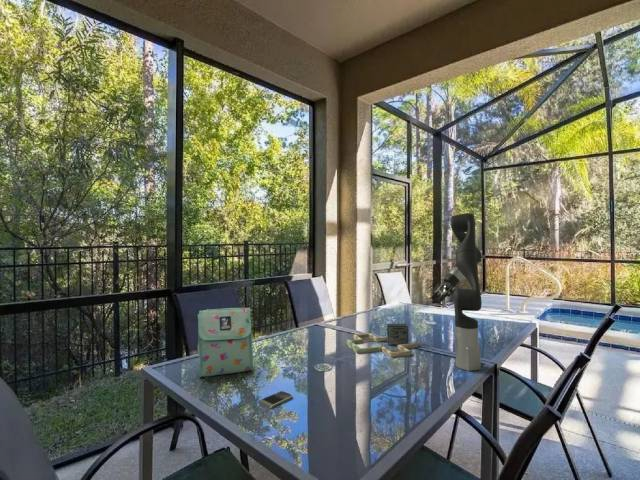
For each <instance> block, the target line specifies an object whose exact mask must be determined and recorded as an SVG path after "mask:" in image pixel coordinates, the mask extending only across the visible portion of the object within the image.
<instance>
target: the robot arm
mask: <svg viewBox="0 0 640 480" xmlns="http://www.w3.org/2000/svg"><path fill="white" fill-rule="evenodd" d="M475 219H476V218H475V216H474V214H473V213H472V212H471V213H470V212H469V213H467V212H466V213H460V214H456V215H452V216H451V217H450V221H449V223H450V227H451V230H452V233H453V234H454V236H455V238H456V240H458V242H459V243H460V244H459V246H458V247H457V248H456V250H455V265H454V266H453V267H452V268H451V269H450V270H449V271H448V272H447V274H446V275H445V276H444V278H443V282H442V283H439V282H438V283H437V284H436V286H435V287H434V289H432V291H433V294H432V295H431V296H430V299H431V300H432V301H434V300H435V299H436V298H437V297H438V296H439V295H440V294H441V295H440V296H439V297H438V299H437V300H438V302H440V303H442V302H443V301H444V300H445V298H447V297H449V298H450V297H451V296H452V294H453V306H454V309H453V310H454V335H455V336H454V338H455V341H454V342H455V349H454V350H455V366H456V367H457V368H458V369H461V370H465V371H468V372H471V371H478V370H481V369H482V361H481V360H482V359H481V358H482V357H481V346H480V344H479V343H480V341H479V321H478V320H477V318H476V319H475V318H473V317H470V316H468V315H466V314H465V313H464V312H465V311H466V312H467V311H468V312H478V311H481V309H482V306H483V305H482V294H481V286H480V281H479V269H478V268H479V265H478V264H479V263H480V262H482V258H483V257H482V252H481V251H480V249H479V248H478V247H477V245H476V244H477V243H476V220H475ZM463 278H465V279H466V281H467V282H468V284H469V286H470V288H456V287H457V286H458V285H459V284H460V282H461V281H462V280H463Z"/></svg>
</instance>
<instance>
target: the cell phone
mask: <svg viewBox="0 0 640 480" xmlns="http://www.w3.org/2000/svg"><path fill="white" fill-rule="evenodd" d="M293 397H294V395H293V394H291V393H289V392H287V391H278V392H276V393H273V394H271V395H269V396H266V397H264V398H261V399H260V400H259V401H258V405H260V406H262V407H264V408H266V409H269V410H270V409H273V408H275V407H276V406H279V405H281V404H283V403H285V402H288V401H289V400H292V399H293Z"/></svg>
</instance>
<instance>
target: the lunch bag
mask: <svg viewBox="0 0 640 480" xmlns="http://www.w3.org/2000/svg"><path fill="white" fill-rule="evenodd" d="M197 323H198V324H197V325H198V327H197V339H198V341H197V342H198V343H197V353H198V356H199V375H198V376H199V378H202V377H205V378H206V377H214V376H220V375H226V374H227V375H228V374H235V373H237V374H238V373H243V372H249V371H252V370H254V363H253V362H254V360H253V335H252V319H251V308H250V307H229V308H228V307H227V308H215V309H214V308H213V309H211V308H207V309H203V310H199V312H198V314H197Z"/></svg>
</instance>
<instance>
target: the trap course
mask: <svg viewBox="0 0 640 480" xmlns="http://www.w3.org/2000/svg"><path fill="white" fill-rule="evenodd" d="M352 337H353V338H352V339H349V338H345V345H346V346H347V345H348V346H347V347H349V348H350V349H351V350H352V351H353V352H354V353H356V354H367V353H376V352H382V353H383V354H386V355H387V356H388V357H390V358H397V357H407V356H409V357H410V356H411V355H412V351H411V350H410V349H414V348H415V347H417V348H419V343H418V342H413V343H412V342H411V343H408V344H400V345H397V346H396V347H397V348H396V349H395V348H394V349H388V348H386V347H384V346H383V345H382V346H371V347H361V348H360V347H359V346H358V345H359V344H360V345H361V344H364V343H373V342H375V343H380V342H381V341H382V342H387V336H380V337H377V336H375V335H374V334H372V333H371V332H368V333H357V334H356V333H355V334H352ZM363 342H364V343H363ZM382 342H381V343H382ZM357 344H358V345H357Z"/></svg>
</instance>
